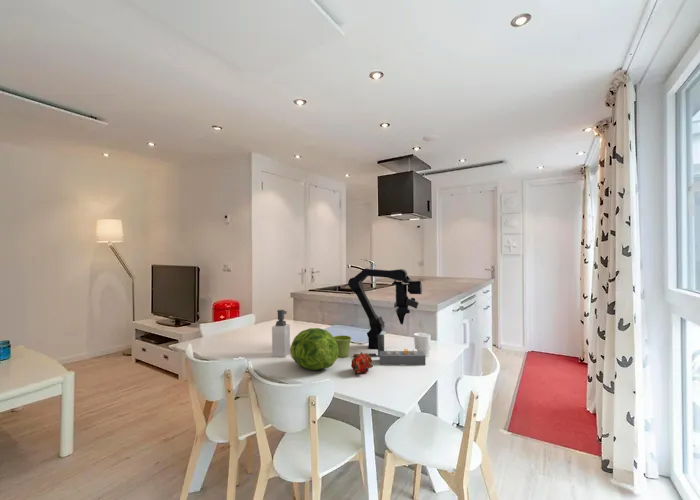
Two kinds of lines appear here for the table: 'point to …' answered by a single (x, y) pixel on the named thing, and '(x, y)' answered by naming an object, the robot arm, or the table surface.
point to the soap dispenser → (281, 336)
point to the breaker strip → (402, 357)
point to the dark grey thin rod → (368, 354)
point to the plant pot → (343, 345)
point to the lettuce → (314, 349)
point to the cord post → (380, 343)
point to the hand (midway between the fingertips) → (401, 324)
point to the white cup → (422, 343)
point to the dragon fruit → (361, 363)
